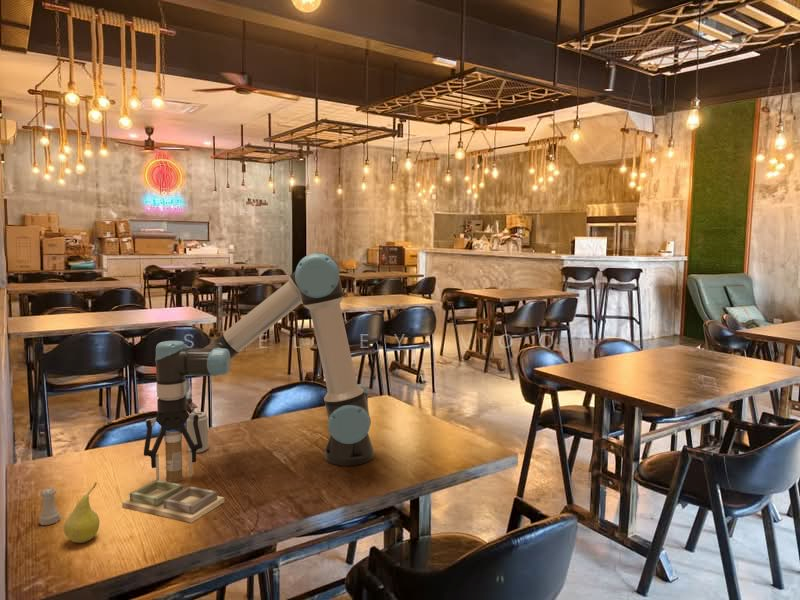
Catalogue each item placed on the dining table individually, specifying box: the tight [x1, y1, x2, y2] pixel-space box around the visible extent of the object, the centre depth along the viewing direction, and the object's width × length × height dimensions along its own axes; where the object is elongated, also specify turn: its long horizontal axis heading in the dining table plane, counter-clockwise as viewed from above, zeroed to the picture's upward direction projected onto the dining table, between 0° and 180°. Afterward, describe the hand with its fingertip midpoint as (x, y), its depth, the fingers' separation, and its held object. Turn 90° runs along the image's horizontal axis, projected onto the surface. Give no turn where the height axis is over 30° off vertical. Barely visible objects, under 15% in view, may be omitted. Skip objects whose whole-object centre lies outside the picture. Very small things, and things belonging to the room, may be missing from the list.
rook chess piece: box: [38, 486, 61, 526], centre depth 134 cm, size 4×4×8 cm
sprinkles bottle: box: [163, 431, 184, 483], centre depth 158 cm, size 5×5×13 cm
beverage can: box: [186, 411, 209, 454], centre depth 181 cm, size 6×6×12 cm
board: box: [121, 479, 226, 524], centre depth 144 cm, size 22×12×3 cm, turn 69°
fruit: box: [63, 481, 100, 544], centre depth 126 cm, size 7×8×12 cm
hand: (174, 475), depth 159 cm, fingers open, 8 cm apart
